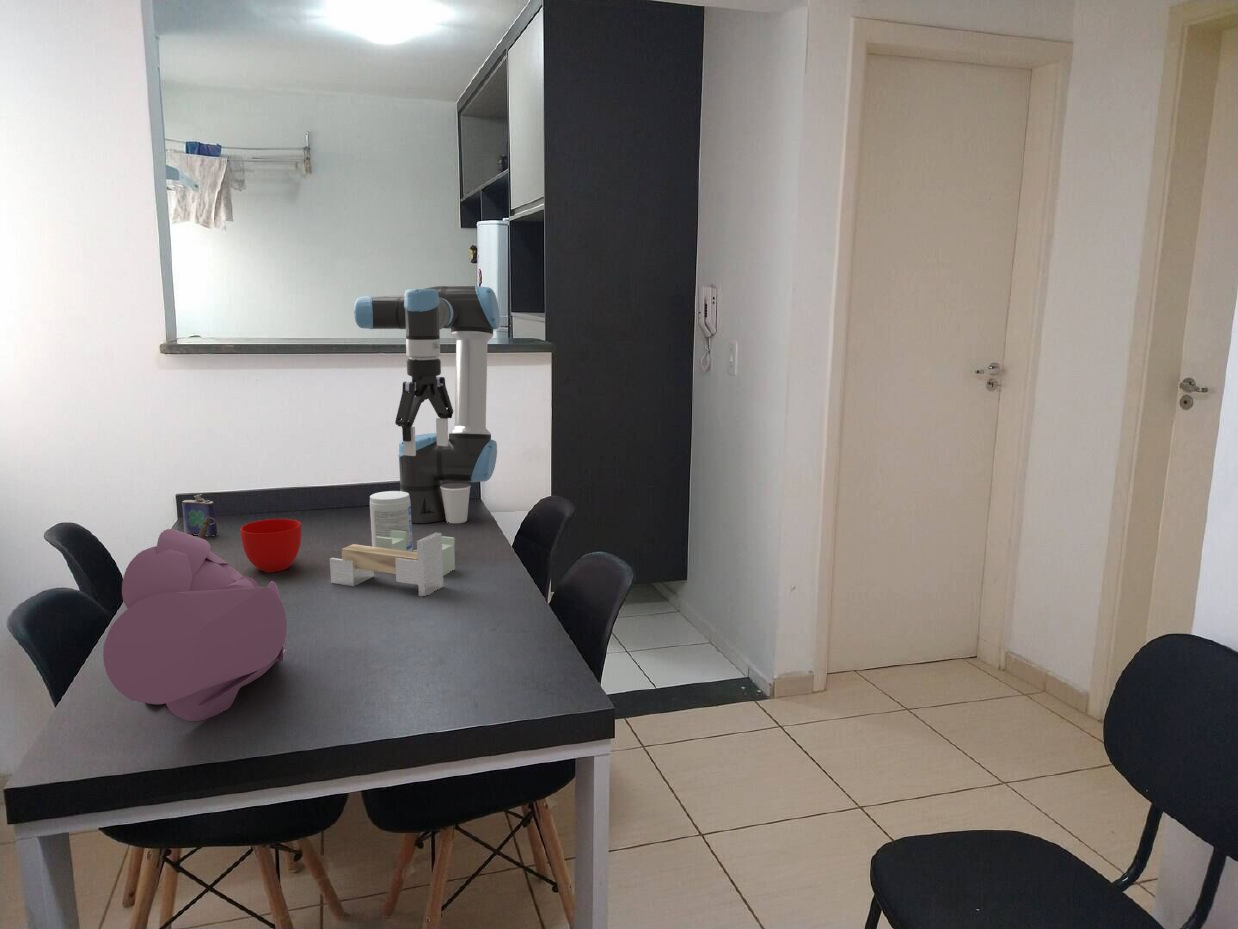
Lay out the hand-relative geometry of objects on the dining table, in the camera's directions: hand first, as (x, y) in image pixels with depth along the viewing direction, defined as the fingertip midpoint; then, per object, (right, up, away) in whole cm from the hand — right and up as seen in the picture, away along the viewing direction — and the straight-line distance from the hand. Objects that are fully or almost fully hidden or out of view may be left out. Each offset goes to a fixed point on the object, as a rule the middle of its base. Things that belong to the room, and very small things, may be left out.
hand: (426, 450), depth 208 cm
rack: (-2, -27, 0) cm, 27 cm away
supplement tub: (-11, -25, +11) cm, 30 cm away
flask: (-64, -22, +26) cm, 73 cm away
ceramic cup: (-35, -27, +1) cm, 44 cm away
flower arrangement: (-22, -40, -62) cm, 77 cm away
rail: (-7, -26, -12) cm, 29 cm away
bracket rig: (-7, -29, -11) cm, 32 cm away
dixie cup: (-1, -19, +42) cm, 46 cm away
